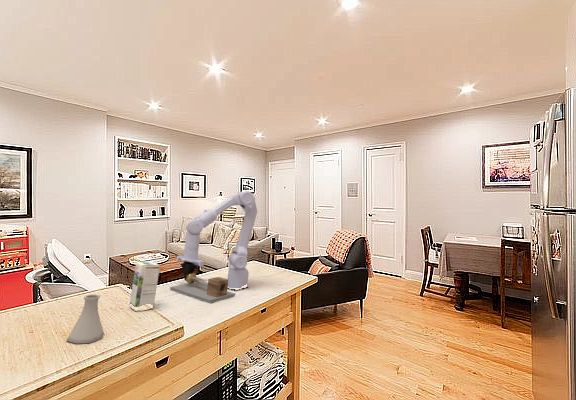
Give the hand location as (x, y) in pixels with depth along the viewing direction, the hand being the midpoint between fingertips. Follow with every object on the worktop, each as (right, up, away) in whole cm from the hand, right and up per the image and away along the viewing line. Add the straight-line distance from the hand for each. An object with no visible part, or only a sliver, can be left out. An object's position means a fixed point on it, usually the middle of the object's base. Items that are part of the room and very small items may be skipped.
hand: (187, 280), depth 121 cm
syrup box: (-5, -1, -29) cm, 29 cm away
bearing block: (+15, -3, -9) cm, 17 cm away
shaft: (+9, -2, -5) cm, 10 cm away
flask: (-6, 0, -52) cm, 52 cm away
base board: (+8, -4, -5) cm, 10 cm away
